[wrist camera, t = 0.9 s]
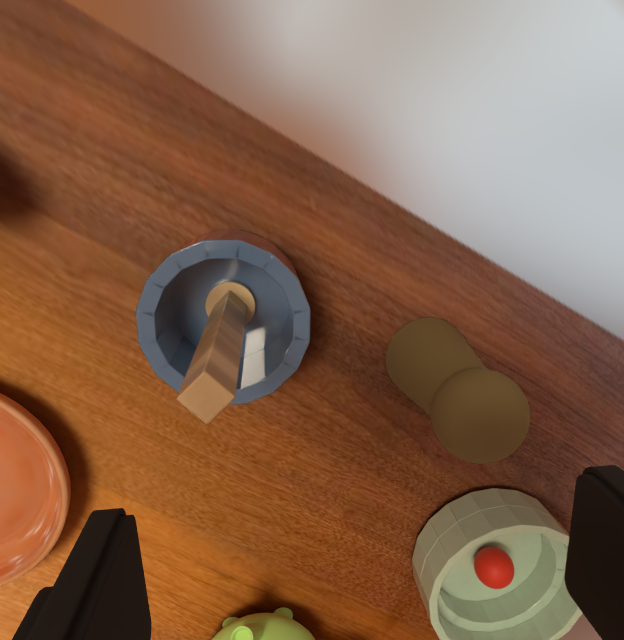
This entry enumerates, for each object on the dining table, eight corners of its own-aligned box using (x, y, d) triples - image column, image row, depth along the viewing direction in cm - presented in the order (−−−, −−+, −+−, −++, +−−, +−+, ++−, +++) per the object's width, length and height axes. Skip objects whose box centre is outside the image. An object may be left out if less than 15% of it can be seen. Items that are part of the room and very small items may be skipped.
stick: (229, 269, 32) (202, 341, 18) (265, 303, 33) (266, 396, 19) (196, 304, 33) (143, 400, 19) (232, 336, 34) (208, 452, 19)
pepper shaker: (371, 379, 36) (415, 461, 26) (408, 304, 35) (471, 358, 24) (442, 406, 37) (513, 496, 27) (481, 335, 36) (571, 400, 25)
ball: (488, 531, 40) (505, 558, 37) (510, 552, 41) (529, 580, 38) (460, 555, 40) (475, 584, 38) (483, 575, 41) (499, 605, 38)
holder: (227, 197, 32) (220, 201, 26) (331, 300, 34) (345, 324, 29) (128, 302, 33) (99, 328, 27) (234, 394, 36) (229, 435, 30)
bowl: (493, 455, 39) (526, 494, 34) (581, 542, 42) (622, 589, 37) (379, 554, 40) (395, 605, 36) (472, 631, 44) (498, 687, 39)
